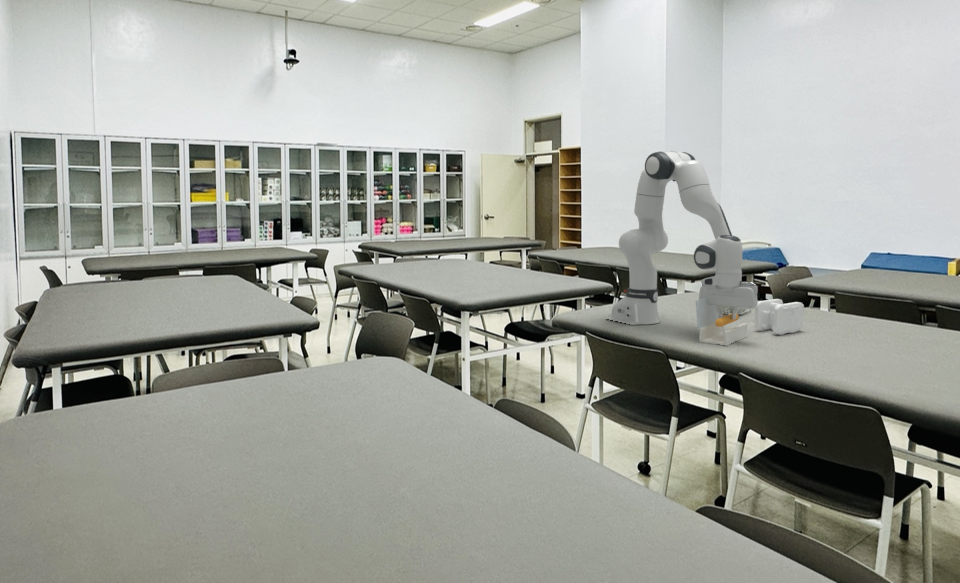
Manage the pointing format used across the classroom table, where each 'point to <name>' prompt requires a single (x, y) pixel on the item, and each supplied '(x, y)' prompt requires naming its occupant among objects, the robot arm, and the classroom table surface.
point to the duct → (722, 334)
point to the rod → (725, 320)
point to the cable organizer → (779, 316)
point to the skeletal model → (731, 309)
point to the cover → (705, 313)
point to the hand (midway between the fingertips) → (727, 318)
